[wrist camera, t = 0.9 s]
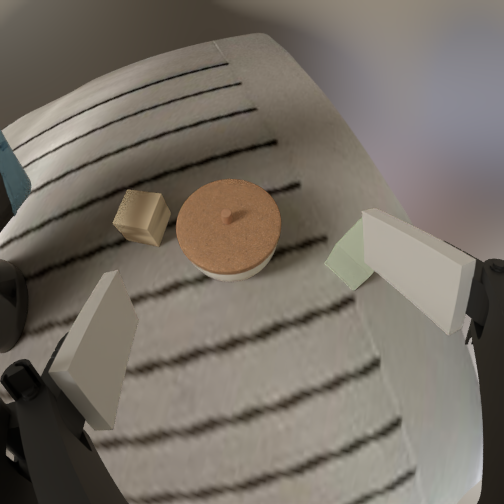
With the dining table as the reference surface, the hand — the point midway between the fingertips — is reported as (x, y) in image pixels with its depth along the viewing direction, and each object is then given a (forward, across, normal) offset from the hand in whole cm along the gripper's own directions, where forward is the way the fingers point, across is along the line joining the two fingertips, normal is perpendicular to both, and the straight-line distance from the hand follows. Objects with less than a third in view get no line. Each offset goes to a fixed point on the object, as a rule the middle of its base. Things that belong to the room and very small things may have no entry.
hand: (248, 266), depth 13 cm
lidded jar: (+22, 0, -8) cm, 24 cm away
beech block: (+27, -10, -4) cm, 29 cm away
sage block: (+18, +14, -12) cm, 26 cm away
